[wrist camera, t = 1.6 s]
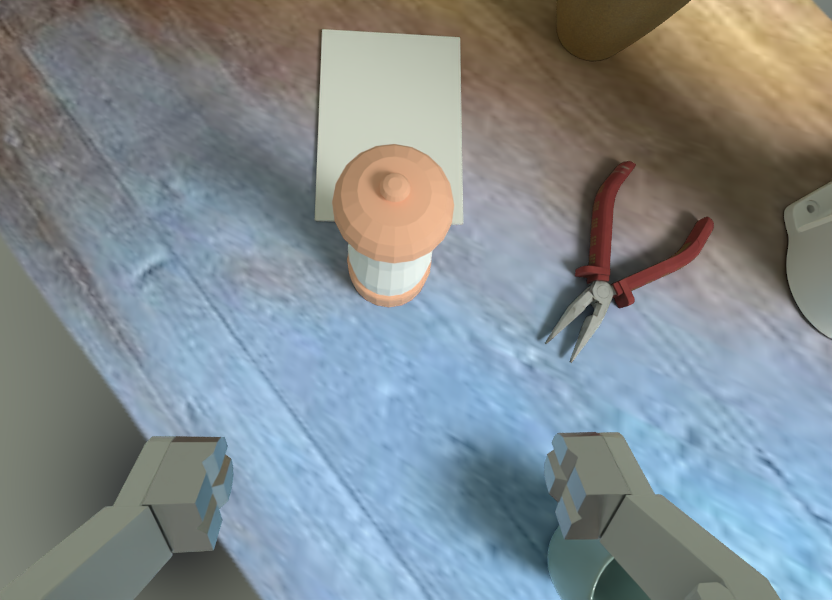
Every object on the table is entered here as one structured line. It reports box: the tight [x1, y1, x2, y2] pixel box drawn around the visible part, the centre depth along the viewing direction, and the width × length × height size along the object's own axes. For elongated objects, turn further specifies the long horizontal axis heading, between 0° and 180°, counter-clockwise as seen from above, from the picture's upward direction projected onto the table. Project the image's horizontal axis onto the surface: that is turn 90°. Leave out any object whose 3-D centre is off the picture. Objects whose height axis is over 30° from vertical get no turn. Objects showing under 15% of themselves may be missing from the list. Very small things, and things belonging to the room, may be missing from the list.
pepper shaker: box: [332, 144, 454, 307], centre depth 33 cm, size 7×7×19 cm
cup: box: [547, 525, 651, 600], centre depth 34 cm, size 8×8×10 cm
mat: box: [315, 29, 463, 225], centre depth 44 cm, size 20×14×1 cm
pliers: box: [545, 161, 714, 363], centre depth 43 cm, size 12×20×3 cm, turn 143°
